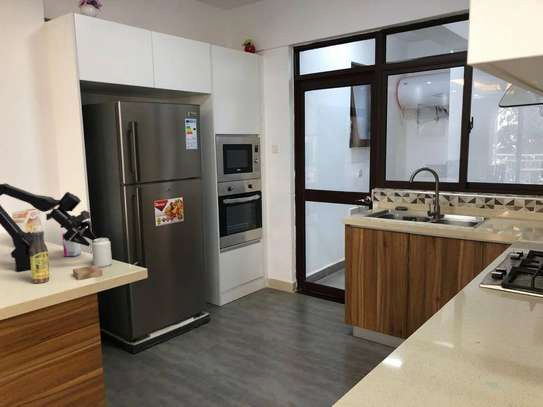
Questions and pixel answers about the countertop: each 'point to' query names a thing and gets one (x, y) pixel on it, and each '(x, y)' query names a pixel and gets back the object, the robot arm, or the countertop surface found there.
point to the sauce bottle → (39, 258)
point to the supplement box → (71, 248)
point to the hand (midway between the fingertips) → (93, 243)
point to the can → (102, 252)
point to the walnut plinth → (87, 272)
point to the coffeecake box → (28, 220)
